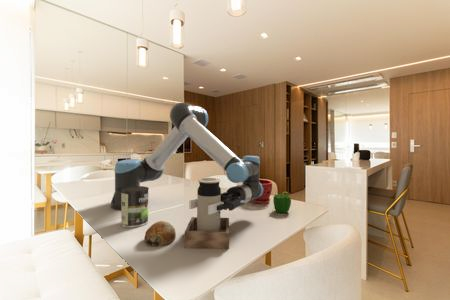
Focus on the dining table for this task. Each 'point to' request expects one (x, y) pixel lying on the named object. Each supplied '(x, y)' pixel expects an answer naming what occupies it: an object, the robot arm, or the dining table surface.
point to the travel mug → (205, 197)
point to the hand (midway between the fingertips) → (199, 207)
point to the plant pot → (264, 192)
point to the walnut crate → (207, 236)
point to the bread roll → (160, 234)
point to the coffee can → (134, 206)
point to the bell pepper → (282, 202)
